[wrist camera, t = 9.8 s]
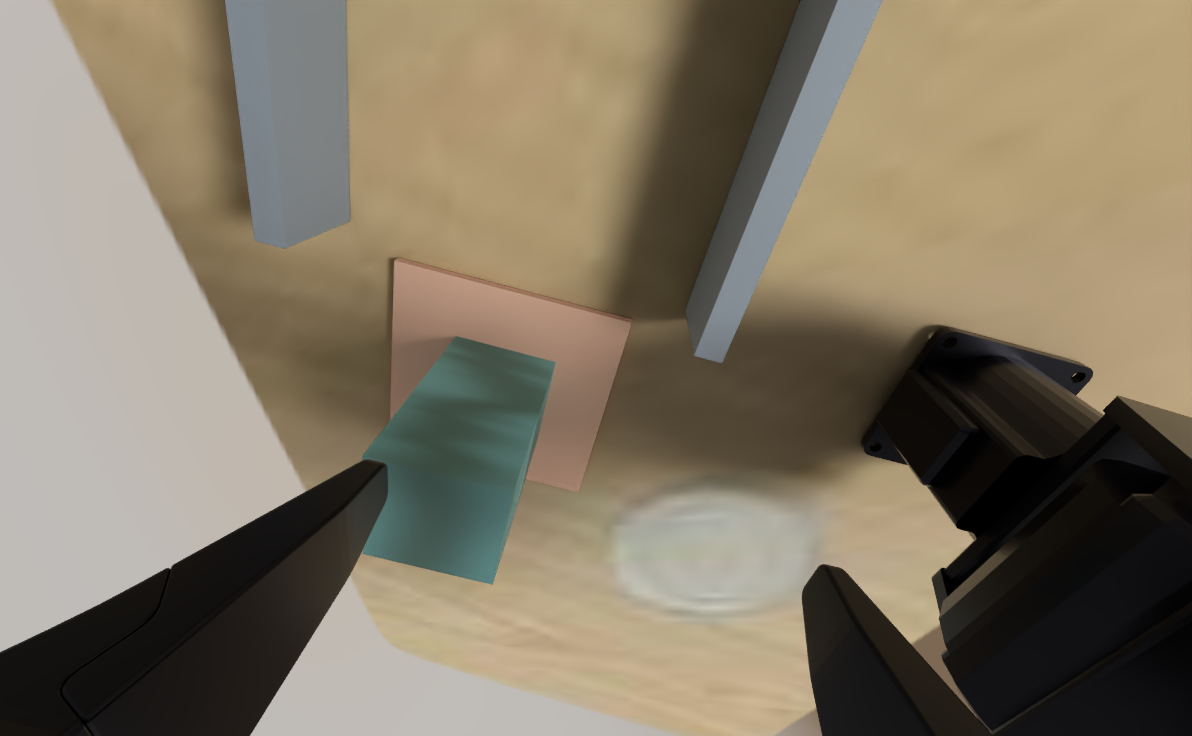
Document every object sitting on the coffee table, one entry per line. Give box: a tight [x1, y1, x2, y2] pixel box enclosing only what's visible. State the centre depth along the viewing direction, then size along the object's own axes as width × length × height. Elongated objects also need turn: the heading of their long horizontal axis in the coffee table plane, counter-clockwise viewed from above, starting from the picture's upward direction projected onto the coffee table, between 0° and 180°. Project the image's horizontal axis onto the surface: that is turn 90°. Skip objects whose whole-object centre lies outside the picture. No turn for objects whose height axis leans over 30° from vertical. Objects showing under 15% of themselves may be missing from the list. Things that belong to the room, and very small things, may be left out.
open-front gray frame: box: [225, 0, 883, 363], centre depth 14 cm, size 16×16×4 cm
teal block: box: [363, 336, 556, 585], centre depth 19 cm, size 4×4×8 cm
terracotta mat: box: [390, 258, 632, 492], centre depth 22 cm, size 10×10×1 cm
